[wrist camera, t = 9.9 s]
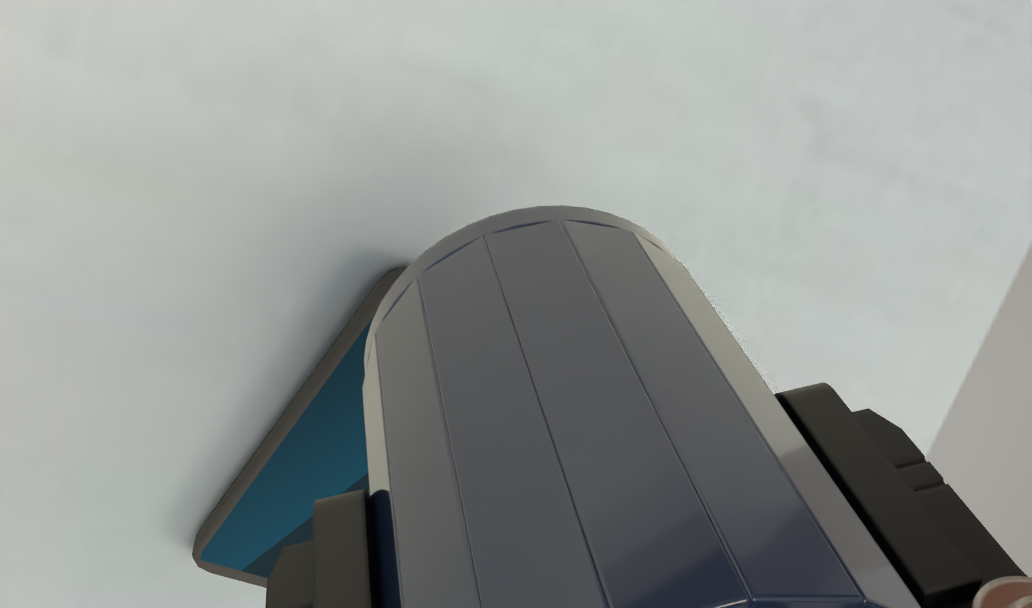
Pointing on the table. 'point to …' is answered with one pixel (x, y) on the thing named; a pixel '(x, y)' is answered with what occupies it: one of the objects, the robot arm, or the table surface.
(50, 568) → the table surface
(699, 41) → the table surface
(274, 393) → the table surface
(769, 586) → the pot
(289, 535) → the smartphone
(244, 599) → the table surface
